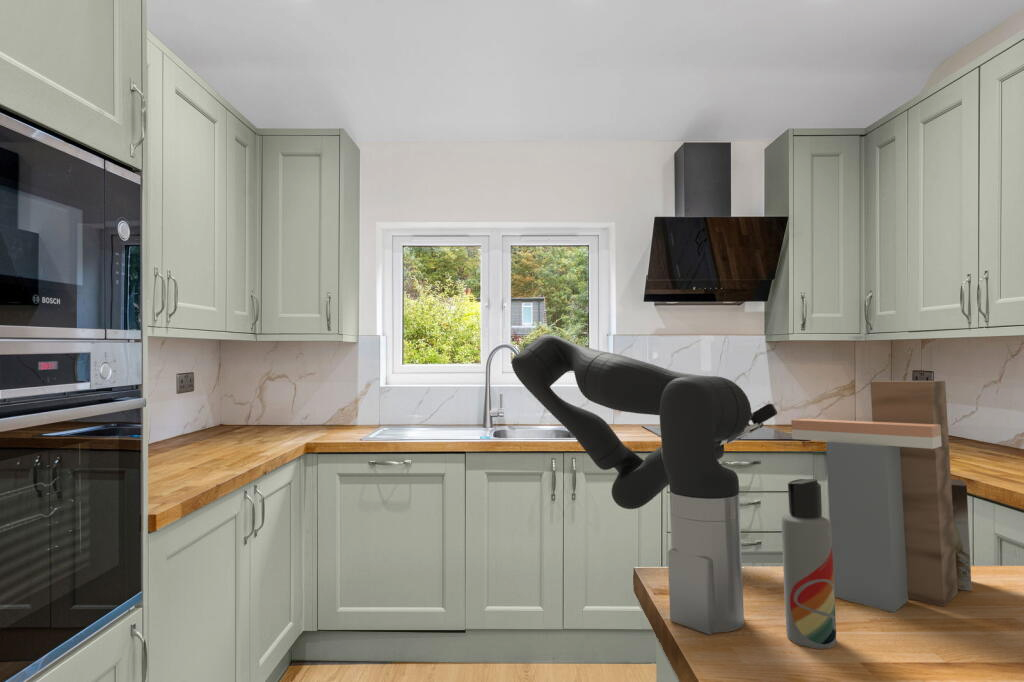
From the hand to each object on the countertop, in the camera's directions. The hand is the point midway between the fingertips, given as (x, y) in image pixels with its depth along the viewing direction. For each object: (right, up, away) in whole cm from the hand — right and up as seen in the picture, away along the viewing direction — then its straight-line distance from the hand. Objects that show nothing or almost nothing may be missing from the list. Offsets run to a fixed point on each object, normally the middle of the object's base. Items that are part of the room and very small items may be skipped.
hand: (762, 409), depth 100 cm
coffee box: (+25, -27, -6) cm, 37 cm away
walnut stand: (+19, -26, -11) cm, 34 cm away
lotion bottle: (-5, -26, -26) cm, 37 cm away
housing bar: (+10, -4, -12) cm, 16 cm away
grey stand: (+10, -26, -13) cm, 31 cm away
